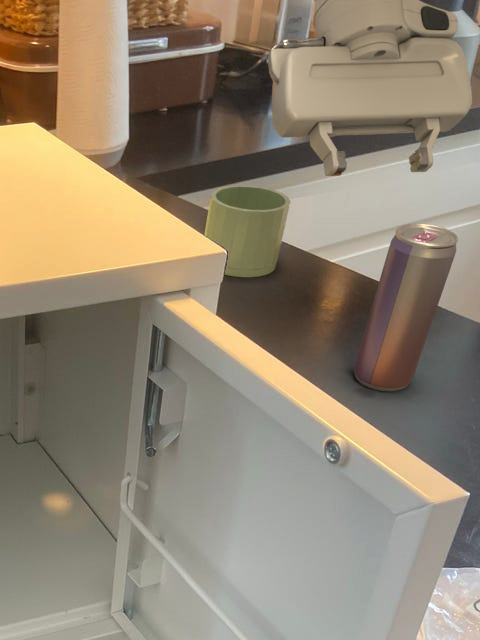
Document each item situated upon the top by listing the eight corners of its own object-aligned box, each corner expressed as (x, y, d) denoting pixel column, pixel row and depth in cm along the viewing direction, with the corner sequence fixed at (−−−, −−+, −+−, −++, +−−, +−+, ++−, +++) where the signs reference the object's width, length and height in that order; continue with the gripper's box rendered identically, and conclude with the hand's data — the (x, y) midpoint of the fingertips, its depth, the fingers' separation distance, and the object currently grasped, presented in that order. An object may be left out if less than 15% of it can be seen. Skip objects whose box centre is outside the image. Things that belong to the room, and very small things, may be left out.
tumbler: (268, 249, 126) (281, 186, 120) (282, 278, 119) (297, 212, 113) (196, 247, 126) (206, 184, 120) (206, 276, 119) (217, 210, 113)
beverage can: (341, 379, 99) (383, 233, 89) (368, 361, 103) (411, 218, 92) (394, 399, 96) (444, 250, 86) (420, 379, 100) (470, 234, 89)
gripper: (279, 18, 91) (297, 158, 91) (472, 14, 94) (490, 150, 94) (253, 60, 98) (269, 191, 97) (434, 55, 101) (451, 183, 100)
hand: (379, 171), depth 96 cm, fingers open, 8 cm apart
